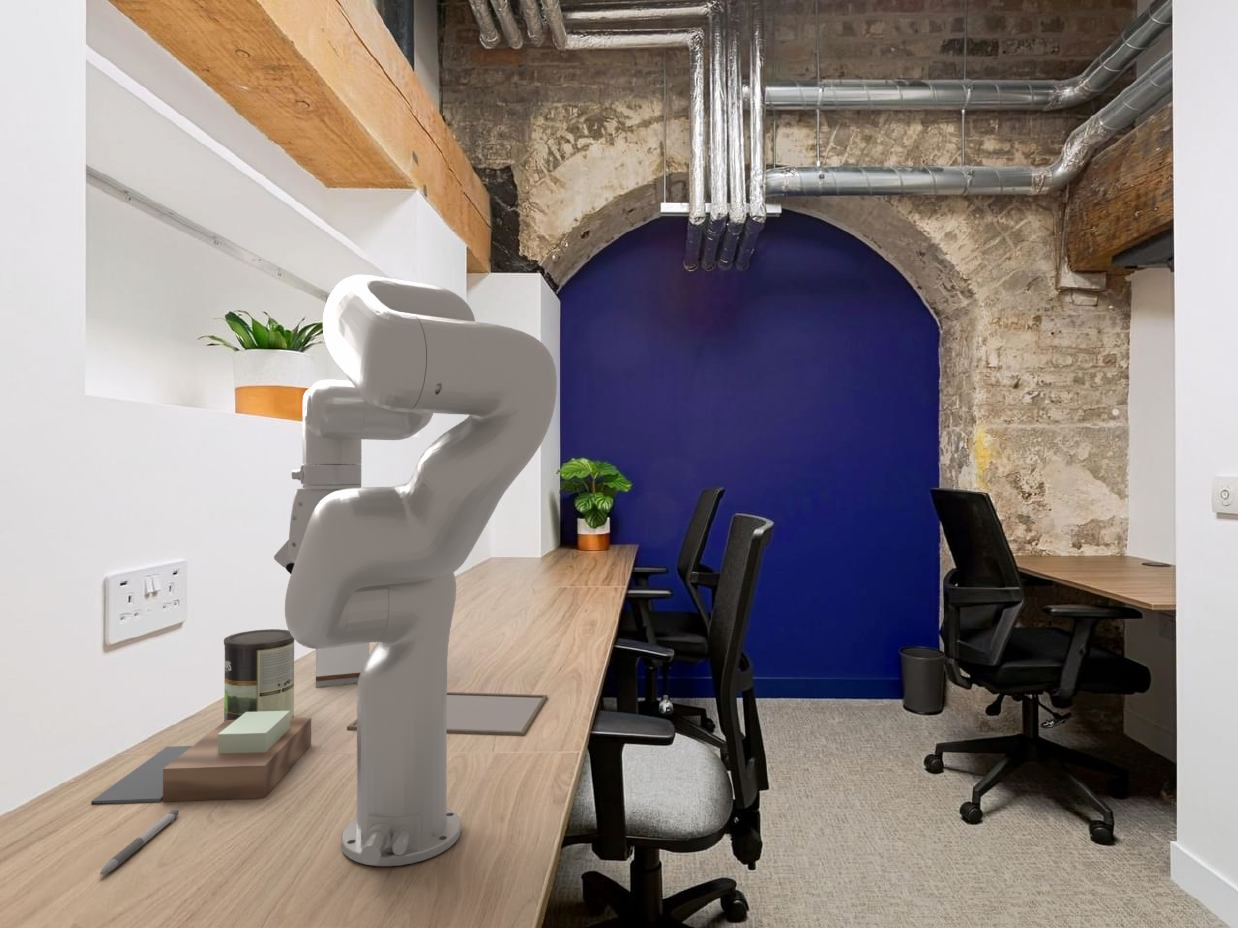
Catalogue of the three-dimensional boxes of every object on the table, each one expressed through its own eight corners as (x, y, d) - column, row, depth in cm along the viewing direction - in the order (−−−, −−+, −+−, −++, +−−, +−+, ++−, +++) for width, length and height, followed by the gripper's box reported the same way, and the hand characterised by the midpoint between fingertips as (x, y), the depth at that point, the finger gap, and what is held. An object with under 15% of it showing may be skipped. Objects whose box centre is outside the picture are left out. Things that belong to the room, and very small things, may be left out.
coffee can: (219, 739, 114) (219, 645, 114) (228, 718, 123) (228, 631, 123) (293, 730, 117) (293, 640, 117) (296, 710, 127) (296, 627, 127)
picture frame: (346, 732, 118) (523, 739, 115) (346, 726, 118) (523, 732, 115) (394, 695, 137) (547, 700, 134) (394, 690, 137) (547, 694, 134)
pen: (182, 818, 89) (182, 806, 89) (105, 882, 75) (105, 868, 75) (173, 818, 89) (173, 806, 89) (95, 883, 75) (95, 868, 75)
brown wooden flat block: (264, 797, 93) (264, 765, 93) (162, 801, 92) (163, 768, 92) (311, 744, 111) (311, 717, 111) (226, 747, 110) (226, 719, 110)
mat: (160, 801, 92) (160, 798, 92) (91, 804, 92) (91, 800, 92) (224, 747, 110) (224, 744, 110) (166, 749, 110) (166, 746, 110)
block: (266, 752, 98) (266, 732, 98) (217, 753, 97) (217, 734, 97) (290, 728, 107) (290, 710, 107) (245, 729, 106) (246, 711, 106)
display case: (375, 681, 144) (376, 498, 145) (315, 687, 140) (316, 499, 141) (371, 667, 155) (372, 496, 155) (316, 672, 151) (316, 497, 151)
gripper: (256, 478, 99) (256, 617, 99) (390, 478, 100) (390, 615, 100) (277, 477, 106) (277, 607, 106) (401, 477, 108) (401, 605, 107)
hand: (332, 609), depth 103 cm, fingers open, 5 cm apart
